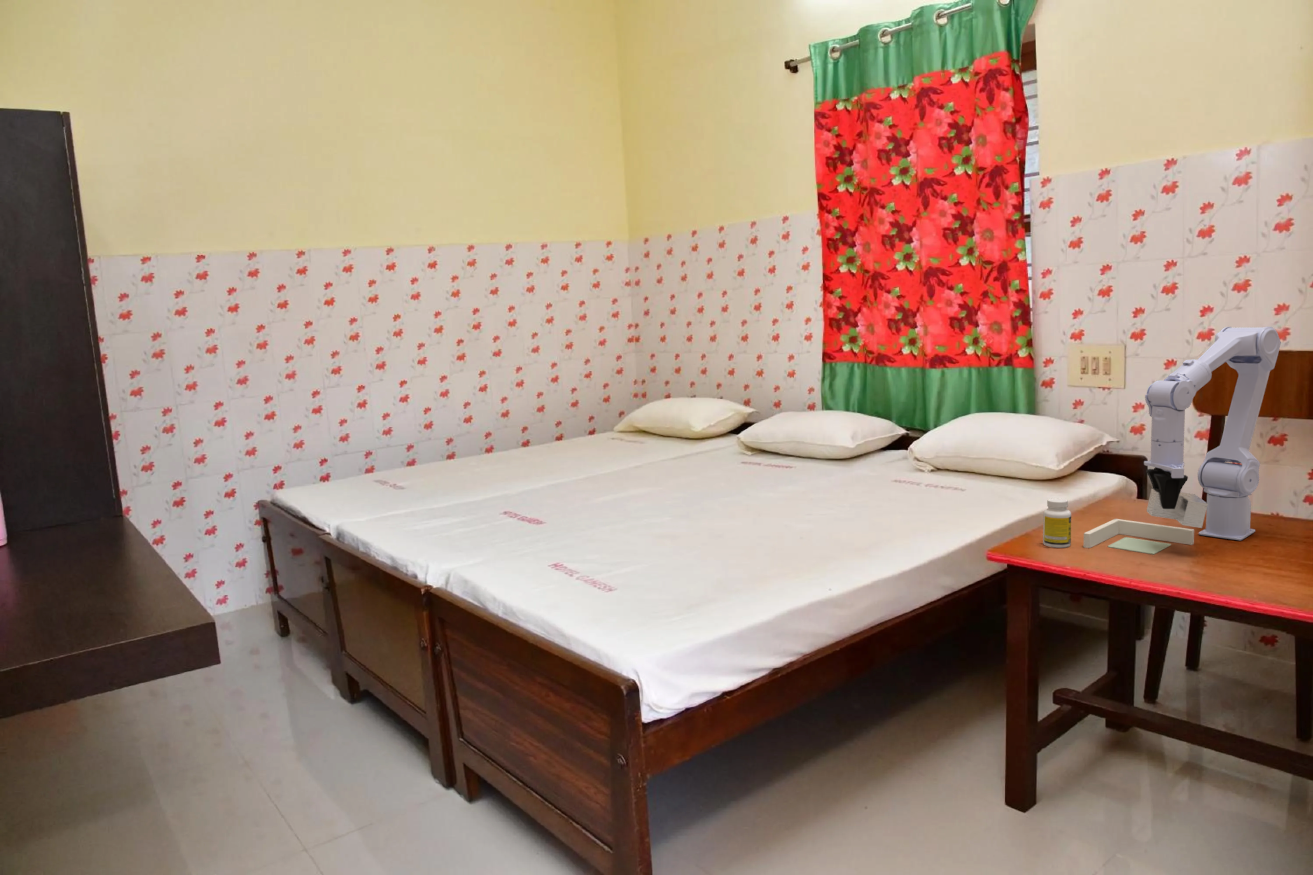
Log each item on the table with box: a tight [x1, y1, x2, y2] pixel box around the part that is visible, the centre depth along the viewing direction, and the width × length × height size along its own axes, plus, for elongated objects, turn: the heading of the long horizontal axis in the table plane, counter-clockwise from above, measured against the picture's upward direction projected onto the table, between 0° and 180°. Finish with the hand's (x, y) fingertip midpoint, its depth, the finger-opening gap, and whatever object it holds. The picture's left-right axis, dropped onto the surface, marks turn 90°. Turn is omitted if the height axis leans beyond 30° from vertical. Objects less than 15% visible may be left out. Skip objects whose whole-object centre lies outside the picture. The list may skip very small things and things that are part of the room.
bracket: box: [1146, 487, 1208, 529], centre depth 176 cm, size 8×8×5 cm
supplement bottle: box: [1042, 497, 1072, 549], centre depth 186 cm, size 5×5×10 cm
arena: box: [1083, 518, 1195, 549], centre depth 182 cm, size 16×16×3 cm
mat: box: [1107, 536, 1172, 555], centre depth 182 cm, size 9×9×1 cm
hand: (1165, 506), depth 178 cm, fingers closed on bracket, 3 cm apart
